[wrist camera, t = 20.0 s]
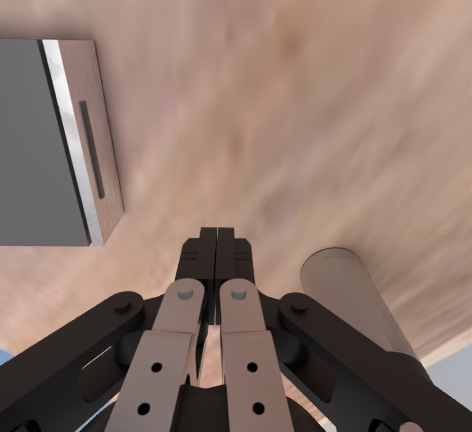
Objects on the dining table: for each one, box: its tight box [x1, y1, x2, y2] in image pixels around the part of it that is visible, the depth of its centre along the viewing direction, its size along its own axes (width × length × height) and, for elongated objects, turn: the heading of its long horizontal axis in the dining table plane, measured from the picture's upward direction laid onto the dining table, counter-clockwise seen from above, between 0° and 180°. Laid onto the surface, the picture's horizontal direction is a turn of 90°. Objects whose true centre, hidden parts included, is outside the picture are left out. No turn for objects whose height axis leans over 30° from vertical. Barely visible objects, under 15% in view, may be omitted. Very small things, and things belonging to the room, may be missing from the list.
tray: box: [42, 40, 124, 246], centre depth 33 cm, size 18×20×8 cm
